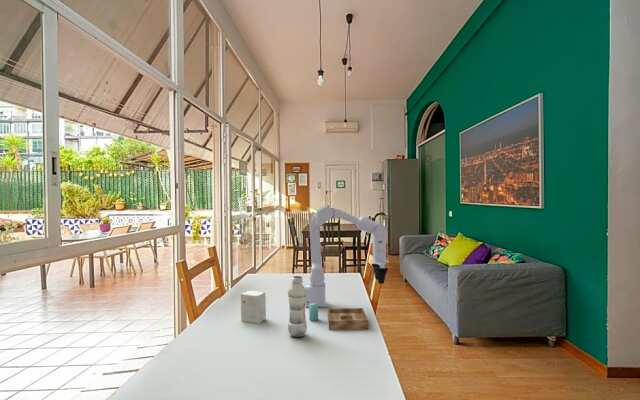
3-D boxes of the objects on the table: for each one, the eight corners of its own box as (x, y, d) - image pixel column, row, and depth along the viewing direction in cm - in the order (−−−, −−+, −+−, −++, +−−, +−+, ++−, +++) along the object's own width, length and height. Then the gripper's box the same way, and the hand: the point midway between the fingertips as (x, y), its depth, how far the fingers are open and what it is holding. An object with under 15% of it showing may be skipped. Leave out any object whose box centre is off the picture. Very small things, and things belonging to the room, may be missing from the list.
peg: (309, 321, 132) (309, 305, 132) (309, 318, 136) (309, 303, 136) (318, 321, 132) (318, 305, 132) (318, 318, 136) (318, 302, 136)
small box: (266, 319, 135) (266, 292, 135) (257, 323, 130) (257, 295, 130) (249, 316, 138) (249, 290, 138) (240, 320, 133) (240, 293, 133)
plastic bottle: (292, 340, 114) (292, 280, 114) (285, 333, 120) (284, 276, 120) (310, 336, 117) (309, 277, 117) (302, 330, 123) (301, 274, 123)
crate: (328, 329, 123) (328, 320, 123) (327, 316, 137) (327, 308, 137) (367, 329, 124) (367, 320, 124) (362, 316, 138) (362, 308, 138)
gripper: (391, 253, 146) (392, 285, 146) (385, 248, 161) (385, 277, 161) (375, 253, 146) (375, 285, 146) (369, 248, 161) (370, 277, 161)
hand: (379, 281), depth 154 cm, fingers open, 7 cm apart
